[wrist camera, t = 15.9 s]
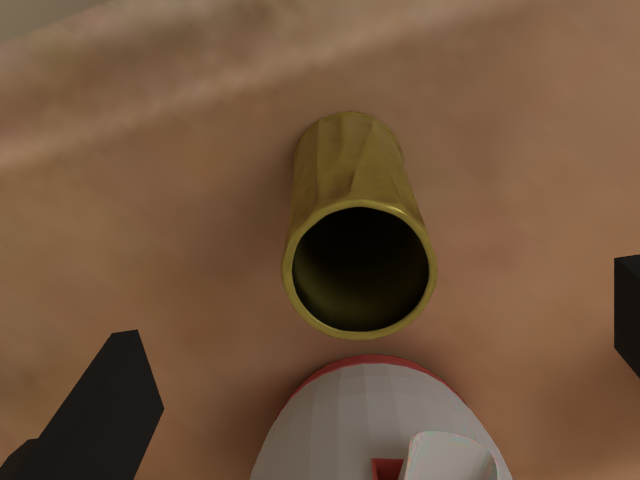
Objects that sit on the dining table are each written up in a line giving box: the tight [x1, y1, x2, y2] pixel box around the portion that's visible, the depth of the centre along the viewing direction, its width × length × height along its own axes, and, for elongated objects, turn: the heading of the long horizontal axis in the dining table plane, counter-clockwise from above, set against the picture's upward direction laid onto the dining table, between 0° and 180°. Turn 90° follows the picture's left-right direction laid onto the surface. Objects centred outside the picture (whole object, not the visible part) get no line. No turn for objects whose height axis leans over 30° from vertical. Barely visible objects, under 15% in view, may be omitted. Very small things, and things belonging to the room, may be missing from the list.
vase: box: [281, 112, 437, 340], centre depth 26 cm, size 6×6×14 cm
